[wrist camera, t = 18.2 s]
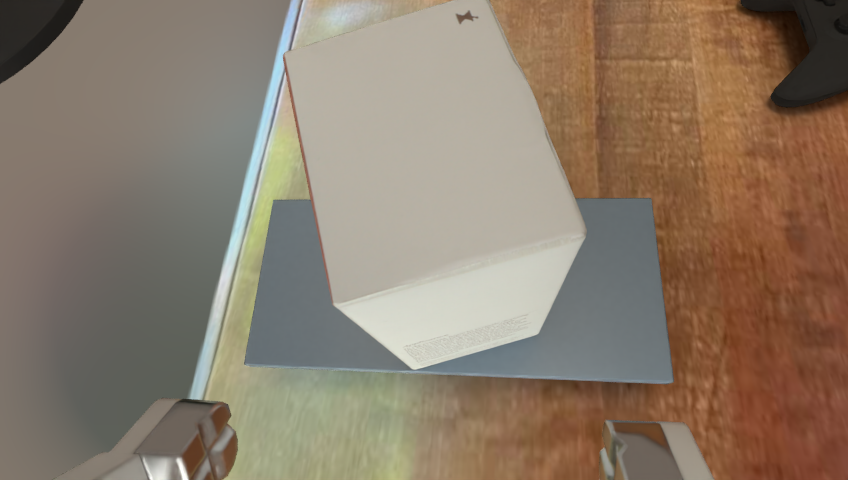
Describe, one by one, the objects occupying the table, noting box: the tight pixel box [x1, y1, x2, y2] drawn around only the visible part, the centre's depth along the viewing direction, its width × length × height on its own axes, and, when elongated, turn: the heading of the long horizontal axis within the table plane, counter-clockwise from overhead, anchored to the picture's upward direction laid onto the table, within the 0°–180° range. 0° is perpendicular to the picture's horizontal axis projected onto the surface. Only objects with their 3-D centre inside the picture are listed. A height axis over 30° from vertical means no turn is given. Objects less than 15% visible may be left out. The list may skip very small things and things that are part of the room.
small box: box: [283, 0, 587, 370], centre depth 19 cm, size 8×6×13 cm
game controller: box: [741, 0, 848, 107], centre depth 31 cm, size 10×5×6 cm
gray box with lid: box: [244, 198, 674, 384], centre depth 27 cm, size 20×9×4 cm, turn 87°
